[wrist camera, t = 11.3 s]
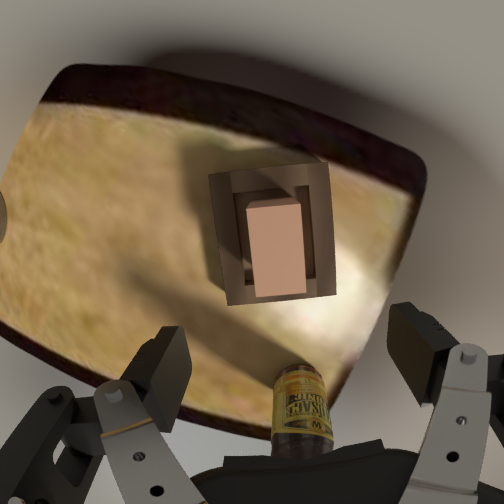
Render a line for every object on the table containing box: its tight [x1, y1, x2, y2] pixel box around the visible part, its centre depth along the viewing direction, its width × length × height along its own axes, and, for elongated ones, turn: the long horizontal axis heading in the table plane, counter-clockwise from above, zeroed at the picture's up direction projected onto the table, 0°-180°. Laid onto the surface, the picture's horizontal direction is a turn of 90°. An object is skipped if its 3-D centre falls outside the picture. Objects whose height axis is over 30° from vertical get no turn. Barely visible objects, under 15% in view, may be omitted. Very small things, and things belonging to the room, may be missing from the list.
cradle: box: [209, 162, 336, 306], centre depth 29 cm, size 11×13×2 cm
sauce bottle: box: [271, 365, 334, 460], centre depth 26 cm, size 6×6×20 cm
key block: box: [246, 197, 306, 297], centre depth 26 cm, size 7×4×7 cm, turn 6°
